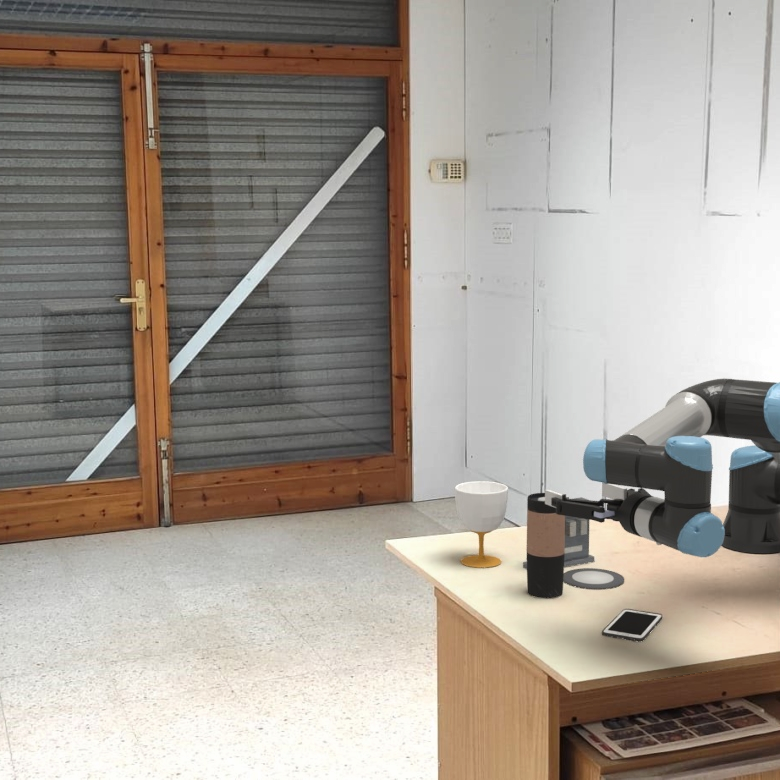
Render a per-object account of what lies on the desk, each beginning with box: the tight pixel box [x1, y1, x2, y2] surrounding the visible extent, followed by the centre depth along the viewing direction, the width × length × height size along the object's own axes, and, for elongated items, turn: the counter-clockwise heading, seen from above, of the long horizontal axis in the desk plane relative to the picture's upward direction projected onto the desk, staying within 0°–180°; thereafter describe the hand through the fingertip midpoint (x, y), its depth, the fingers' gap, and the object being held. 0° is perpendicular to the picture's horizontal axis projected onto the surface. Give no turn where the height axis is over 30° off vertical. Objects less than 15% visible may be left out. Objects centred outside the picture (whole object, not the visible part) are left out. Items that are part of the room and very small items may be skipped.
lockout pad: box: [563, 567, 625, 590], centre depth 237 cm, size 13×13×1 cm
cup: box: [454, 480, 509, 569], centre depth 249 cm, size 12×12×17 cm
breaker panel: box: [522, 497, 595, 570], centre depth 246 cm, size 16×5×14 cm, turn 118°
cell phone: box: [601, 608, 664, 643], centre depth 210 cm, size 8×15×1 cm, turn 151°
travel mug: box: [526, 492, 565, 599], centre depth 228 cm, size 8×8×20 cm
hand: (575, 492), depth 217 cm, fingers open, 13 cm apart
